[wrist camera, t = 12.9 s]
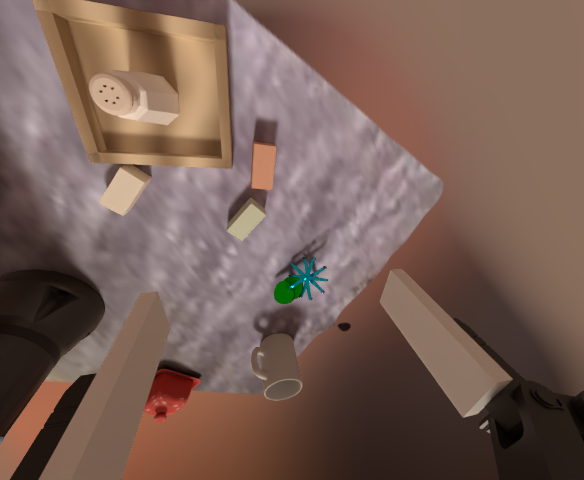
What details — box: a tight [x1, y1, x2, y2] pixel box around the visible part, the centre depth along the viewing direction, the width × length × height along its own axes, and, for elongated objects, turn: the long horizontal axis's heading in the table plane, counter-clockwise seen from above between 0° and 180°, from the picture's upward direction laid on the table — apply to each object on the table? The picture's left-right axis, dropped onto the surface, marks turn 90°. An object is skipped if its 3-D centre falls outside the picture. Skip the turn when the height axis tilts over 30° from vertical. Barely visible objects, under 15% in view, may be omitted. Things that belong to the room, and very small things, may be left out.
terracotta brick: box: [251, 141, 276, 190], centre depth 32 cm, size 6×3×3 cm, turn 172°
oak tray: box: [32, 0, 233, 169], centre depth 26 cm, size 16×14×3 cm
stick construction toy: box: [274, 257, 328, 304], centre depth 44 cm, size 12×7×8 cm
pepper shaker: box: [89, 70, 180, 125], centre depth 21 cm, size 5×5×11 cm
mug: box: [251, 333, 302, 400], centre depth 50 cm, size 12×8×11 cm
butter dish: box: [144, 369, 201, 422], centre depth 51 cm, size 12×12×8 cm
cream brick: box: [99, 164, 152, 216], centre depth 30 cm, size 6×3×3 cm, turn 137°
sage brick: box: [227, 197, 266, 241], centre depth 36 cm, size 6×3×3 cm, turn 135°
